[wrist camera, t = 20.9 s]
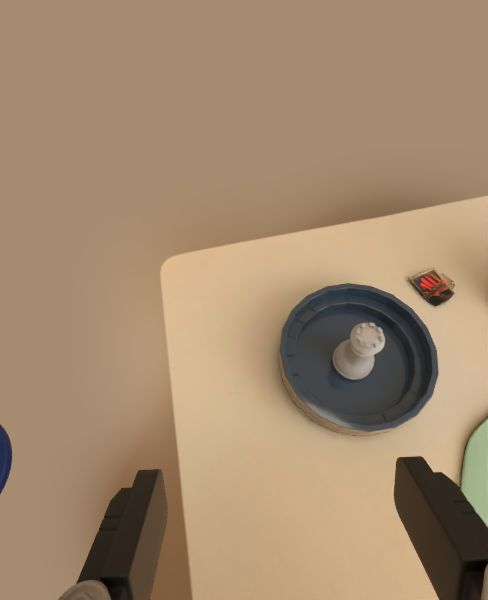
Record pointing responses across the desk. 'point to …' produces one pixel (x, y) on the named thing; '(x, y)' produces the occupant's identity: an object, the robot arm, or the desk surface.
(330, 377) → the dish
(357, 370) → the rook chess piece
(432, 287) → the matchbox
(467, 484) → the green blossom tree diorama
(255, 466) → the desk surface
